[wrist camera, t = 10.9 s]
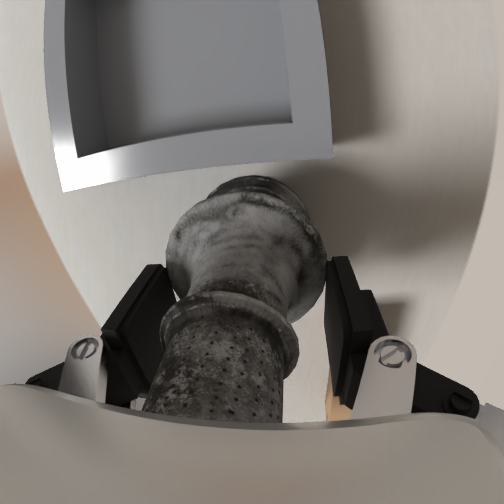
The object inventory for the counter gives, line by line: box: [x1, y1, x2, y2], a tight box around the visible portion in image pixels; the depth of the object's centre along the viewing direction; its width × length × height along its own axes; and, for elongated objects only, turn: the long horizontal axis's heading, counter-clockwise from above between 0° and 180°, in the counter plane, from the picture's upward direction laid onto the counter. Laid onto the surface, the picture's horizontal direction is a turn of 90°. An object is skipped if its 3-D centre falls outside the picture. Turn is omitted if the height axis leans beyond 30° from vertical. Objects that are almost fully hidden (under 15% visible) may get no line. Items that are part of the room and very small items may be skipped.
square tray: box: [44, 0, 333, 192], centre depth 9 cm, size 10×10×3 cm
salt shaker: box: [142, 176, 327, 423], centre depth 8 cm, size 6×6×12 cm
